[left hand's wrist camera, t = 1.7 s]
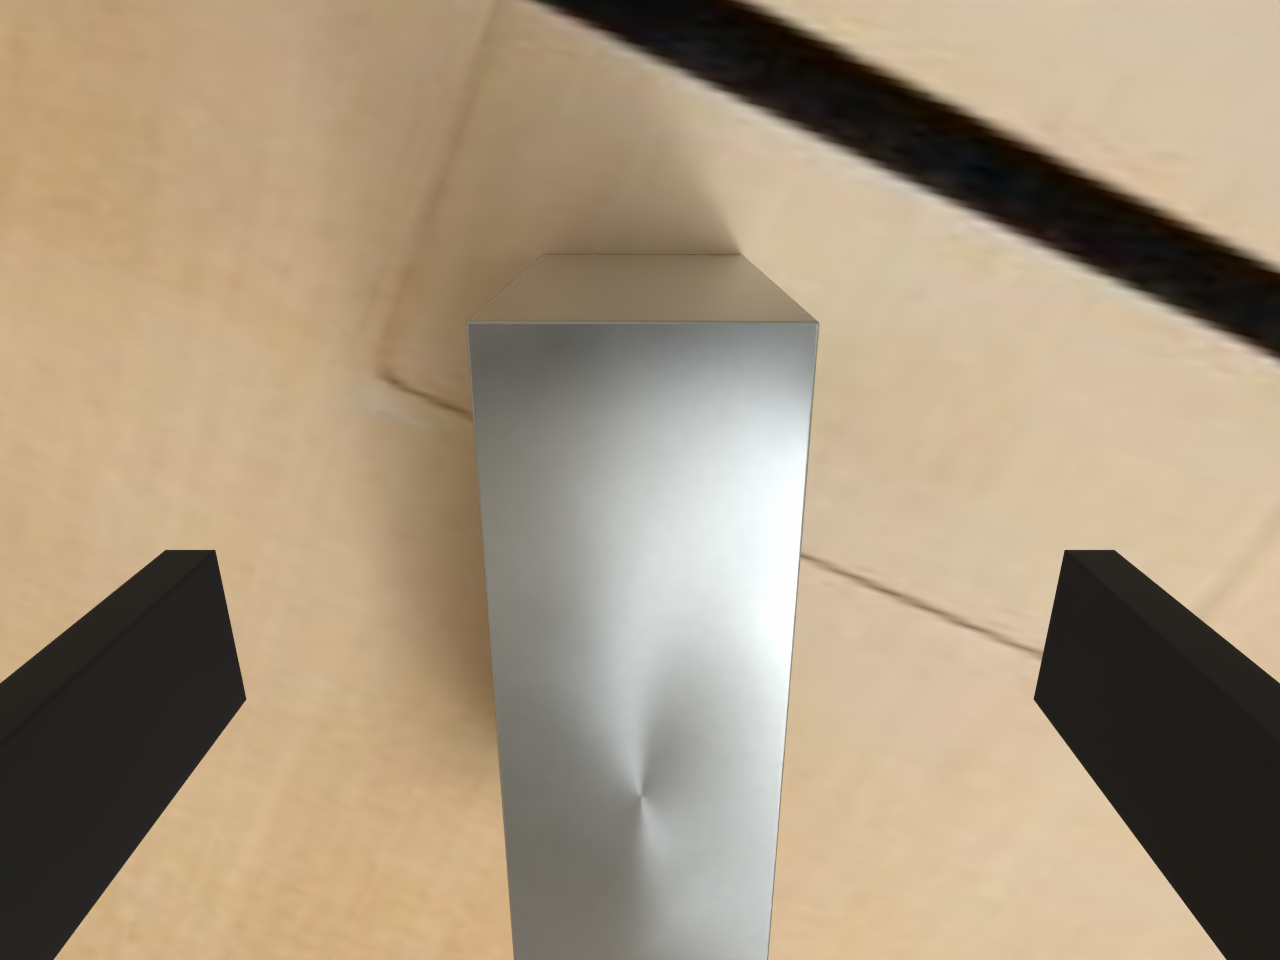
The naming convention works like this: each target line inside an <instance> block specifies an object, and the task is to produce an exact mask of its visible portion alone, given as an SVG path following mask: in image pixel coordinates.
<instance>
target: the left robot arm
mask: <svg viewBox="0 0 1280 960" xmlns="http://www.w3.org/2000/svg"><path fill="white" fill-rule="evenodd" d="M245 700H246V695H245V691H244V686H243V681H242V676H241V671H240V667H239V662H238V657H237V652H236V647H235V643H234V638H233V633H232V628H231V623H230V619H229V614H228V609H227V604H226V599H225V595H224V590H223V585H222V580H221V575H220V571H219V566H218V561H217V556H216V551H215V550H165V551H164V552H163V553H161V554H160V555H159V556H158V557H156V558H155V559H154V560H153V561H152V562H150V563H149V564H148V565H147V566H145V567H144V568H143V569H142V570H140V571H139V572H138V573H137V574H135V575H134V576H133V577H132V578H130V579H129V580H128V581H127V582H125V583H124V584H123V585H122V586H120V587H119V588H118V589H117V590H116V591H114V592H113V593H112V594H111V595H109V596H108V597H107V598H106V599H104V600H103V601H102V602H101V603H99V604H98V605H97V606H96V607H94V608H93V609H92V610H91V611H89V612H88V613H87V614H86V615H85V616H83V617H82V618H81V619H80V620H78V621H77V622H76V623H75V624H73V625H72V626H71V627H70V628H68V629H67V630H66V631H65V632H63V633H62V634H61V635H60V636H58V637H57V638H56V639H55V640H54V641H52V642H51V643H50V644H49V645H47V646H46V647H45V648H44V649H42V650H41V651H40V652H39V653H37V654H36V655H35V656H34V657H32V658H31V659H30V660H29V661H27V662H26V663H25V664H24V665H23V666H21V667H20V668H19V669H18V670H16V671H15V672H14V673H13V674H11V675H10V676H9V677H8V678H6V679H5V680H4V681H3V682H1V683H0V960H54V958H55V957H56V956H57V954H58V953H59V952H60V950H61V949H62V948H63V946H64V945H65V943H66V942H67V941H68V939H69V938H70V937H71V935H72V934H73V933H74V931H75V930H76V929H77V927H78V926H79V925H80V923H81V922H82V921H83V919H84V918H85V916H86V915H87V914H88V912H89V911H90V910H91V908H92V907H93V906H94V904H95V903H96V902H97V900H98V899H99V898H100V896H101V895H102V894H103V892H104V891H105V889H106V888H107V887H108V885H109V884H110V883H111V881H112V880H113V879H114V877H115V876H116V875H117V873H118V872H119V871H120V869H121V868H122V867H123V865H124V864H125V862H126V861H127V860H128V858H129V857H130V856H131V854H132V853H133V852H134V850H135V849H136V848H137V846H138V845H139V844H140V842H141V841H142V839H143V838H144V837H145V835H146V834H147V833H148V831H149V830H150V829H151V827H152V826H153V825H154V823H155V822H156V821H157V819H158V818H159V817H160V815H161V814H162V812H163V811H164V810H165V808H166V807H167V806H168V804H169V803H170V802H171V800H172V799H173V798H174V796H175V795H176V794H177V792H178V791H179V790H180V788H181V787H182V785H183V784H184V783H185V781H186V780H187V779H188V777H189V776H190V775H191V773H192V772H193V771H194V769H195V768H196V767H197V765H198V764H199V763H200V761H201V760H202V758H203V757H204V756H205V754H206V753H207V752H208V750H209V749H210V748H211V746H212V745H213V744H214V742H215V741H216V740H217V738H218V737H219V736H220V734H221V733H222V731H223V730H224V729H225V727H226V726H227V725H228V723H229V722H230V721H231V719H232V718H233V717H234V715H235V714H236V713H237V711H238V710H239V709H240V707H241V706H242V704H243V703H244V702H245ZM1034 700H1035V702H1036V703H1037V704H1038V706H1039V707H1040V709H1041V710H1042V711H1043V713H1044V714H1045V715H1046V717H1047V718H1048V719H1049V721H1050V722H1051V723H1052V725H1053V726H1054V727H1055V729H1056V730H1057V731H1058V733H1059V734H1060V736H1061V737H1062V738H1063V740H1064V741H1065V742H1066V744H1067V745H1068V746H1069V748H1070V749H1071V750H1072V752H1073V753H1074V754H1075V756H1076V757H1077V758H1078V760H1079V761H1080V763H1081V764H1082V765H1083V767H1084V768H1085V769H1086V771H1087V772H1088V773H1089V775H1090V776H1091V777H1092V779H1093V780H1094V781H1095V783H1096V784H1097V785H1098V787H1099V788H1100V790H1101V791H1102V792H1103V794H1104V795H1105V796H1106V798H1107V799H1108V800H1109V802H1110V803H1111V804H1112V806H1113V807H1114V808H1115V810H1116V811H1117V812H1118V814H1119V815H1120V817H1121V818H1122V819H1123V821H1124V822H1125V823H1126V825H1127V826H1128V827H1129V829H1130V830H1131V831H1132V833H1133V834H1134V835H1135V837H1136V838H1137V840H1138V841H1139V842H1140V844H1141V845H1142V846H1143V848H1144V849H1145V850H1146V852H1147V853H1148V854H1149V856H1150V857H1151V858H1152V860H1153V861H1154V862H1155V864H1156V865H1157V867H1158V868H1159V869H1160V871H1161V872H1162V873H1163V875H1164V876H1165V877H1166V879H1167V880H1168V881H1169V883H1170V884H1171V885H1172V887H1173V888H1174V889H1175V891H1176V892H1177V894H1178V895H1179V896H1180V898H1181V899H1182V900H1183V902H1184V903H1185V904H1186V906H1187V907H1188V908H1189V910H1190V911H1191V912H1192V914H1193V915H1194V916H1195V918H1196V919H1197V921H1198V922H1199V923H1200V925H1201V926H1202V927H1203V929H1204V930H1205V931H1206V933H1207V934H1208V935H1209V937H1210V938H1211V939H1212V941H1213V942H1214V943H1215V945H1216V946H1217V948H1218V949H1219V950H1220V952H1221V953H1222V954H1223V956H1224V957H1225V958H1226V960H1280V683H1279V682H1277V681H1276V680H1275V679H1274V678H1272V677H1271V676H1270V675H1269V674H1267V673H1266V672H1265V671H1264V670H1262V669H1261V668H1260V667H1259V666H1257V665H1256V664H1255V663H1254V662H1253V661H1251V660H1250V659H1249V658H1248V657H1246V656H1245V655H1244V654H1243V653H1241V652H1240V651H1239V650H1238V649H1236V648H1235V647H1234V646H1233V645H1231V644H1230V643H1229V642H1228V641H1226V640H1225V639H1224V638H1223V637H1222V636H1220V635H1219V634H1218V633H1217V632H1215V631H1214V630H1213V629H1212V628H1210V627H1209V626H1208V625H1207V624H1205V623H1204V622H1203V621H1202V620H1200V619H1199V618H1198V617H1197V616H1195V615H1194V614H1193V613H1192V612H1191V611H1189V610H1188V609H1187V608H1186V607H1184V606H1183V605H1182V604H1181V603H1179V602H1178V601H1177V600H1176V599H1174V598H1173V597H1172V596H1171V595H1169V594H1168V593H1167V592H1166V591H1164V590H1163V589H1162V588H1161V587H1160V586H1158V585H1157V584H1156V583H1155V582H1153V581H1152V580H1151V579H1150V578H1148V577H1147V576H1146V575H1145V574H1143V573H1142V572H1141V571H1140V570H1138V569H1137V568H1136V567H1135V566H1133V565H1132V564H1131V563H1130V562H1128V561H1127V560H1126V559H1125V558H1124V557H1122V556H1121V555H1120V554H1119V553H1117V552H1116V551H1115V550H1065V551H1064V556H1063V561H1062V566H1061V571H1060V575H1059V580H1058V585H1057V590H1056V595H1055V599H1054V604H1053V609H1052V614H1051V619H1050V623H1049V628H1048V633H1047V638H1046V643H1045V647H1044V652H1043V657H1042V662H1041V667H1040V671H1039V676H1038V681H1037V686H1036V691H1035V695H1034Z"/></svg>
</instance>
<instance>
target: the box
mask: <svg viewBox="0 0 1280 960" xmlns="http://www.w3.org/2000/svg"><path fill="white" fill-rule="evenodd" d="M466 330H467V344H468V357H469V370H470V383H471V397H472V410H473V423H474V436H475V450H476V463H477V476H478V490H479V503H480V516H481V529H482V543H483V556H484V569H485V582H486V596H487V609H488V622H489V635H490V649H491V662H492V675H493V688H494V702H495V715H496V728H497V742H498V755H499V768H500V781H501V795H502V808H503V821H504V834H505V848H506V861H507V874H508V887H509V901H510V914H511V927H512V940H513V954H514V960H768V953H769V941H770V929H771V916H772V904H773V891H774V879H775V866H776V854H777V842H778V829H779V817H780V804H781V792H782V780H783V767H784V755H785V742H786V730H787V718H788V705H789V693H790V680H791V668H792V655H793V643H794V631H795V618H796V606H797V593H798V581H799V569H800V556H801V544H802V531H803V519H804V506H805V494H806V482H807V469H808V457H809V444H810V432H811V420H812V407H813V395H814V382H815V370H816V358H817V345H818V333H819V322H818V321H817V320H816V319H814V318H813V317H812V316H811V315H810V314H809V313H808V312H807V311H805V310H804V309H803V308H802V307H801V306H800V305H799V304H797V303H796V302H795V301H794V300H793V299H792V298H791V297H790V296H788V295H787V294H786V293H785V292H784V291H783V290H782V289H780V288H779V287H778V286H777V285H776V284H775V283H774V282H773V281H771V280H770V279H769V278H768V277H767V276H766V275H765V274H763V273H762V272H761V271H760V270H759V269H758V268H757V267H756V266H754V265H753V264H752V263H751V262H750V261H749V260H748V259H747V258H745V257H744V256H743V255H542V256H541V257H540V258H539V259H538V260H536V261H535V262H534V263H533V264H532V265H531V266H530V267H528V268H527V269H526V270H525V271H524V272H523V273H522V274H520V275H519V276H518V277H517V278H516V279H515V280H513V281H512V282H511V283H510V284H509V285H508V286H507V287H505V288H504V289H503V290H502V291H501V292H500V293H499V294H497V295H496V296H495V297H494V298H493V299H492V300H491V301H489V302H488V303H487V304H486V305H485V306H484V307H483V308H481V309H480V310H479V311H478V312H477V313H476V314H475V315H473V316H472V317H471V318H470V319H469V320H468V321H467V322H466Z"/></svg>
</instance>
